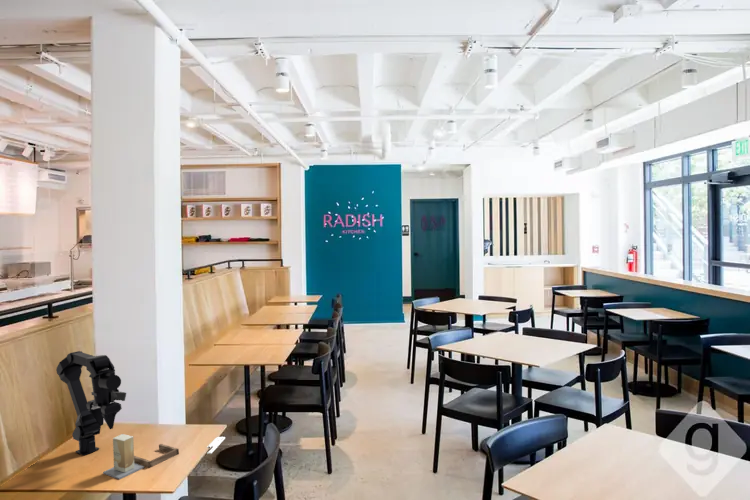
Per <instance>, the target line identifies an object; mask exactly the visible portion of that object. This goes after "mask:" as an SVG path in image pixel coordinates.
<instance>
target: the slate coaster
mask: <svg viewBox="0 0 750 500" xmlns="http://www.w3.org/2000/svg"><path fill="white" fill-rule="evenodd" d="M144 468H145V466H143V465H140V464H137V463H134V468H133V469H131V470H129V471H127V472H121V471H117V470H114V466H113V467H110V468H108V469H106V470H104V471H103V472H102V474H103V475H106V476H108V477H111V478H114V479H116V480H121V479H123V478H126V477H128V476H129V475H132V474H134V473H137V472H139V471H140V470H142V469H144Z"/></svg>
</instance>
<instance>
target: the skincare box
mask: <svg viewBox="0 0 750 500" xmlns="http://www.w3.org/2000/svg"><path fill="white" fill-rule="evenodd" d="M134 444H135V442H134V436H133V435H128V434H124V433H121V434H119V435H117V436H115V437H112V447H113V448H112V451H113V467H114V470H117V471H121V472H127V471H129V470H131V469H133V468H134V456H135V447H134V446H135V445H134Z"/></svg>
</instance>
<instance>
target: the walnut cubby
mask: <svg viewBox="0 0 750 500" xmlns="http://www.w3.org/2000/svg"><path fill="white" fill-rule="evenodd" d="M158 450H159V451H163V452H166V453H165V454H162V455H160V456H157V457H155V458H153V459H151V460H149V459H146V458H143V457H139V456H137V455H134V463H136V464H139V465H142V466H144V467H147V468H153V467H154V466H156V465H159V464H161V463H162V462H166V461H167V460H169V459H171V458H174V457H175V456H177V455H179V454H180V452H179V448H177V447H174V446H170V445H166V444H163V443H160V444H158Z"/></svg>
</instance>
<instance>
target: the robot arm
mask: <svg viewBox="0 0 750 500" xmlns="http://www.w3.org/2000/svg"><path fill="white" fill-rule="evenodd" d="M83 367H85V368H86V371H88V372H89V373H90V374H89V376H88V377H89V378H91V384H92V392H90V393H91V396H93V399H91V400H89V401H88V399H87V396H86V394H85V390H84V388H83V384H82V382H81V379H80V378H81V375H82V369H83ZM56 374H57V375H58V377H59V380H60V381H62V382H63V383H65V384H66V385H67V388H68V391H69V395H70V398H71V401H72V404H73V406H74V410H75V412H76V415H77V417H76V421H75V428H74V430H73V432H72V439H73V440H75V441H78V447H79V448H78V449H77V450H75V454H79V455H81V456H86V455H88V454H92V453H94V452H96V451H99V450H100V447H97V446H96V436H97V435H100V434H101V428H102V426H103V425H104V421H105V423H106V425H107V427H108V429H109V430H113V429H114V424H115V419H116V415H117V414H118V413H119V412H120V411H121V410H122V408H123V407H122V404H121V403H120V402H117V401H121V402H125V401H126V397H127V392H123V391H120V390H119V389H118V388H120V386H121V384H122V379H121V377H120V376H119V375H116V368H115V366H114V364H113V363H112V361H111V359H110V358H109V356H107V354H106V355H105V354H104V355H103V354H100V355H92V354H88V353H85V352H83V351H82V350H81V351H80V350H78V351H72V352H69V353H68V354H66V357H65V358H63V359H62V360H61V361H60V362H59V363H58V365H57V367H56Z"/></svg>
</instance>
